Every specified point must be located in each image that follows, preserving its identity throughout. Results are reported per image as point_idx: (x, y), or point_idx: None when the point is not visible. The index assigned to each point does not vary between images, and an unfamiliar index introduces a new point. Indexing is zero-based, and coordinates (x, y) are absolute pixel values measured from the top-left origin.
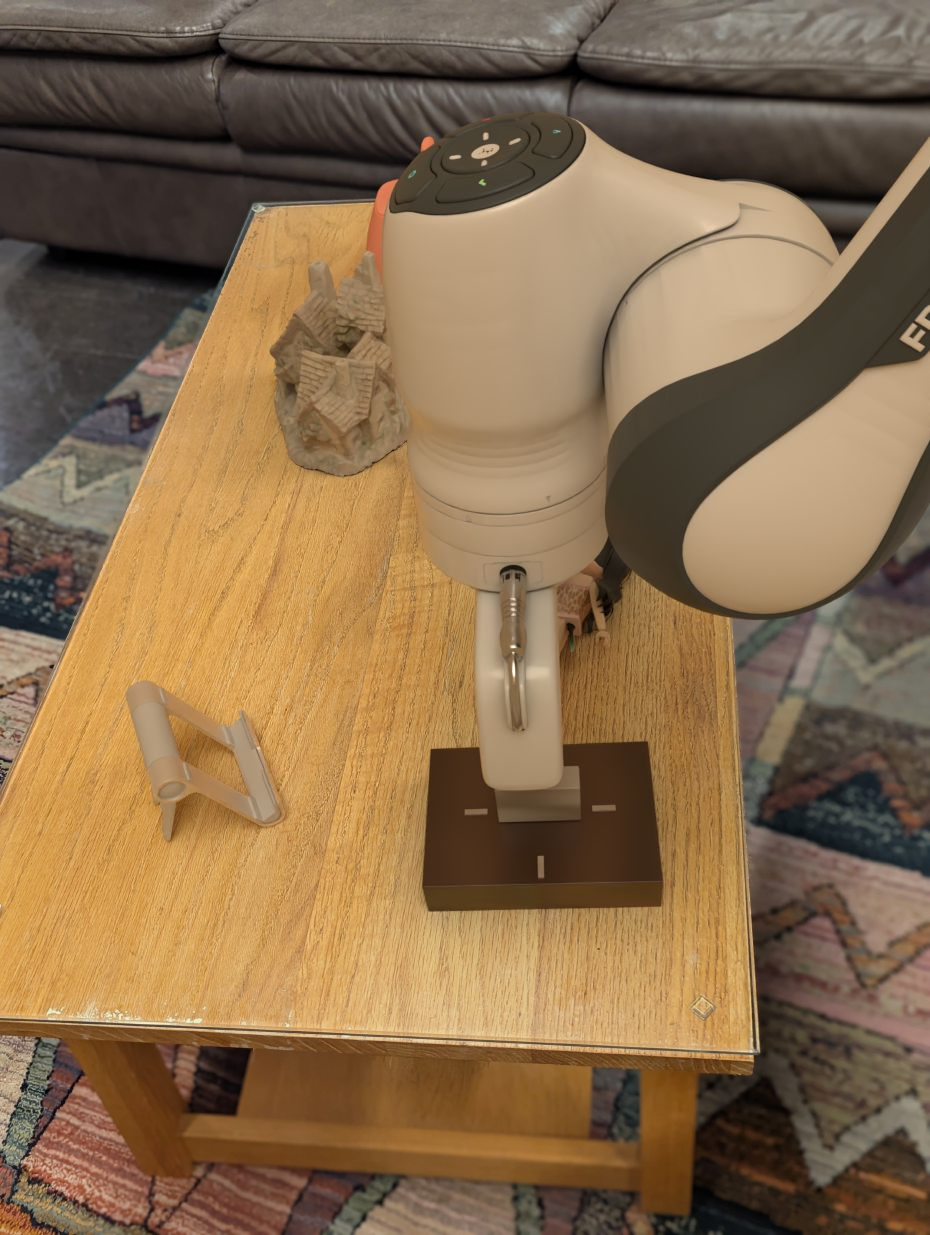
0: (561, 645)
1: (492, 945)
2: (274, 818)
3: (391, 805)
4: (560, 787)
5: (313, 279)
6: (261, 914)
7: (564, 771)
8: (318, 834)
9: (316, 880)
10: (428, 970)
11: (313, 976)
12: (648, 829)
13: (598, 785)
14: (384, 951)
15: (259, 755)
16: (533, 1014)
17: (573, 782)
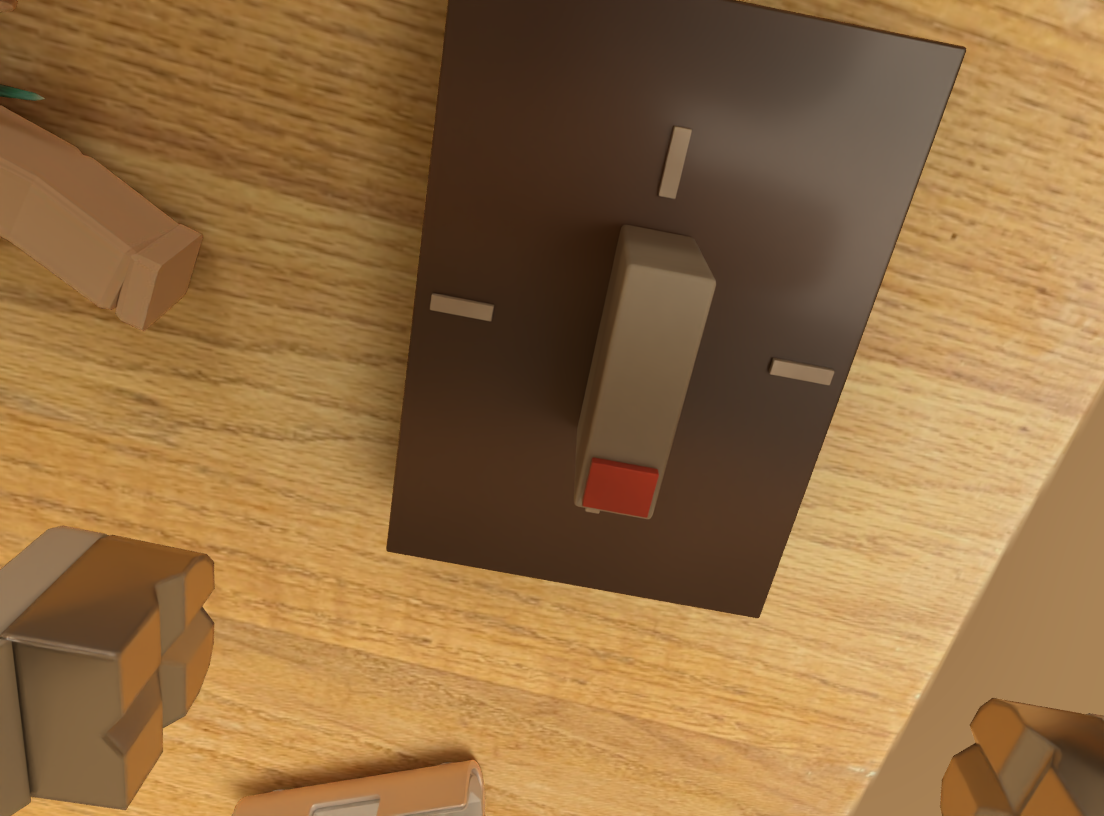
0: (14, 121)
1: (856, 452)
2: (475, 779)
3: (473, 583)
4: (695, 340)
5: None
6: (656, 792)
7: (639, 314)
8: (514, 705)
9: (613, 715)
10: (862, 569)
11: (801, 735)
12: (784, 42)
13: (590, 157)
14: (795, 632)
15: (333, 805)
16: (1037, 404)
17: (690, 297)
